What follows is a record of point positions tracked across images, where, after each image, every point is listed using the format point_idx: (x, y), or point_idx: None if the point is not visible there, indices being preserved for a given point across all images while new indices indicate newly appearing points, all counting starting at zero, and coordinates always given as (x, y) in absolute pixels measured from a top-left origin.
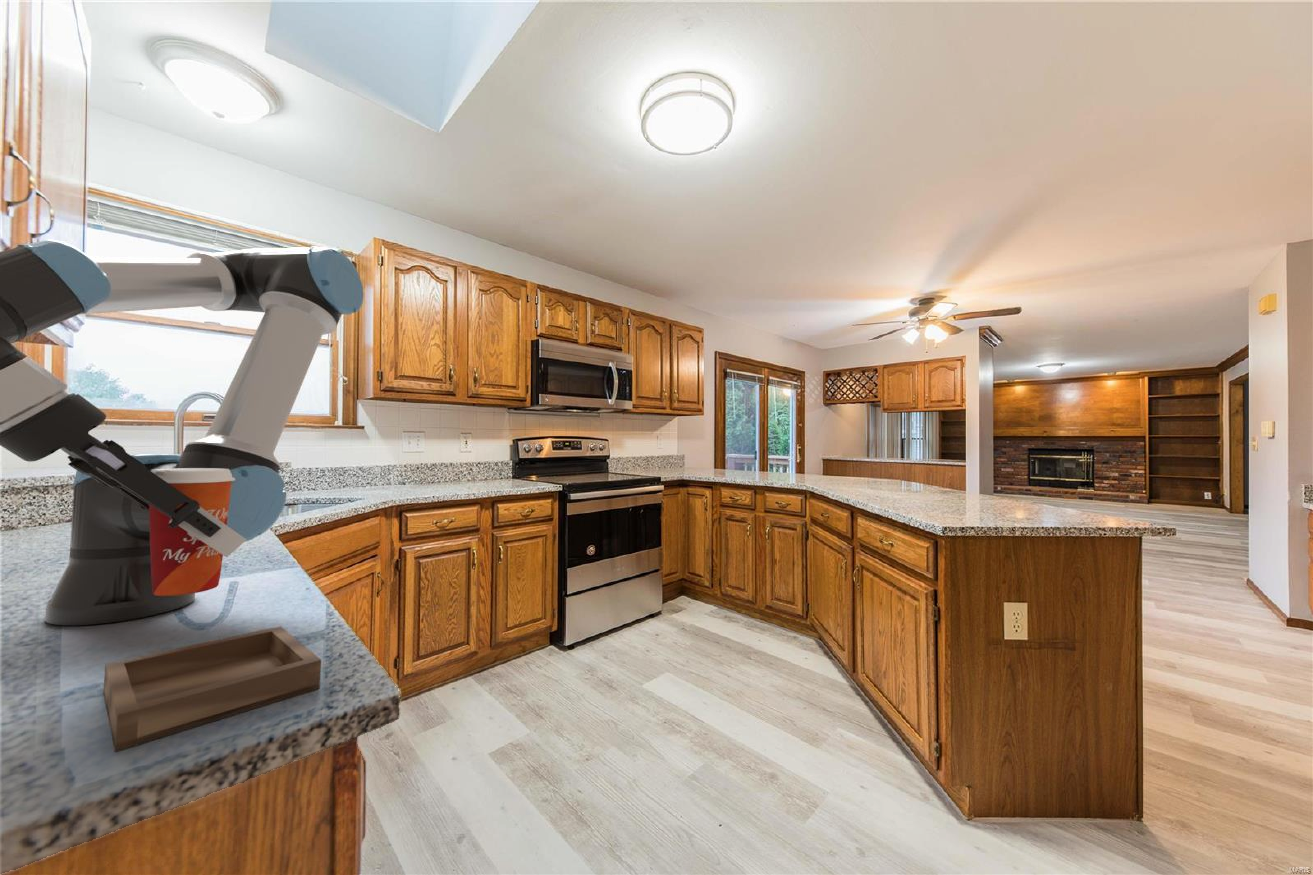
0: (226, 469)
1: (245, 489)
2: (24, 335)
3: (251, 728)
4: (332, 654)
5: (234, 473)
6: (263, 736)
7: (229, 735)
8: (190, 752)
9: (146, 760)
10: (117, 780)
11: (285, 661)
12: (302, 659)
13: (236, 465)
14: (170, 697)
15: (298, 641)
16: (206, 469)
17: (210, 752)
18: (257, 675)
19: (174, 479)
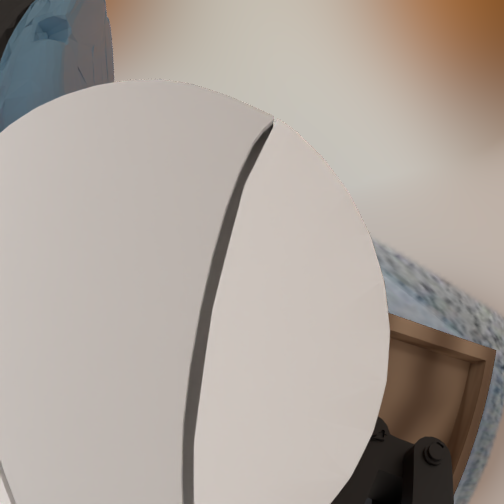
0: (240, 117)
1: (78, 74)
2: None
3: (485, 420)
4: (418, 291)
5: (37, 50)
6: (498, 419)
7: (480, 434)
8: (477, 458)
9: (461, 479)
10: (466, 493)
11: (426, 347)
12: (482, 359)
13: (2, 20)
14: (459, 469)
15: (440, 331)
16: (125, 216)
17: (487, 449)
18: (482, 405)
19: None
